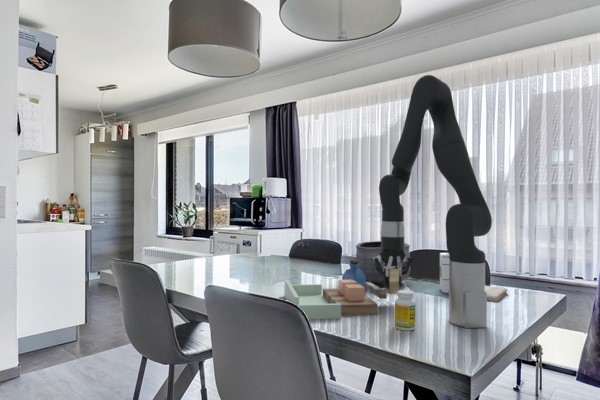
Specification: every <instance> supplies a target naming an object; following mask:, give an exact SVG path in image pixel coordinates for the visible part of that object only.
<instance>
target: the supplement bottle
mask: <svg viewBox="0 0 600 400" xmlns="http://www.w3.org/2000/svg"><path fill="white" fill-rule="evenodd" d="M413 298H414V292H413V291H412V290H406V289H405V290H404V289H403V290H400V289H399V291H398V293H397V298H396V299H395V300H394V326H395V328H396V329H397V330H400V331H413V330H415V329H416V308H417V307H416V301H415V300H414V299H413Z"/></svg>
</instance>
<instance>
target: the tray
mask: <svg viewBox="0 0 600 400" xmlns="http://www.w3.org/2000/svg"><path fill="white" fill-rule="evenodd" d="M283 295H284V299H285V300H288V301H290V302H292V303H294V304H296V305H297V306H299V307H300V308H301V309H302V310H303V311H304V312H305V314H306V315H307V317H308V319H309V320H331V319H332V320H333V319H335V320H337V319H341V318H342V315H341V304H340V303H338V304H330V303H329V302H328V301H327V300H326V299H325V298H324V296H323V285H322V284H321V283H320V284H319V283H314V284H313V283H312V284H309V283H305V284H302V283H301V284H292V283H291V281H290V280H289V279H285V280H284V294H283Z"/></svg>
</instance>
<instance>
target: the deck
mask: <svg viewBox="0 0 600 400" xmlns="http://www.w3.org/2000/svg"><path fill="white" fill-rule="evenodd" d="M322 295H323V296H324V298H325V299H326V300H327V301H328V302H329V303H330V304H338V303H340V304H341V316H358V315H359V316H360V315H361V316H363V315H367V316H368V315H378V304H377V302H375V301H374V300H372V298H370V297H368V296H367V295H366V294H365V301H348V300H347V299H346V298H345V295H342V294H341V293H340V292H339V288H322Z"/></svg>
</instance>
